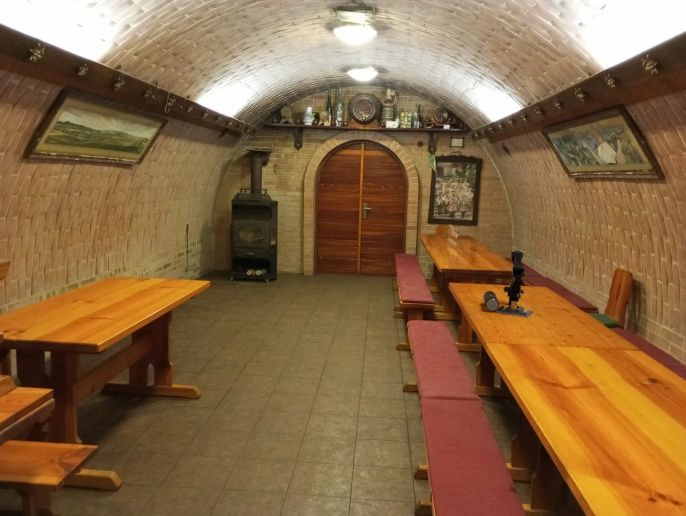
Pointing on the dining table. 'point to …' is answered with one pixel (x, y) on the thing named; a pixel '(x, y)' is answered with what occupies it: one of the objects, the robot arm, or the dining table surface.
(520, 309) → the box
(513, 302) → the toggle
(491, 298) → the muzzle brake
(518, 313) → the grey flat frame
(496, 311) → the panel
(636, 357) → the dining table surface
